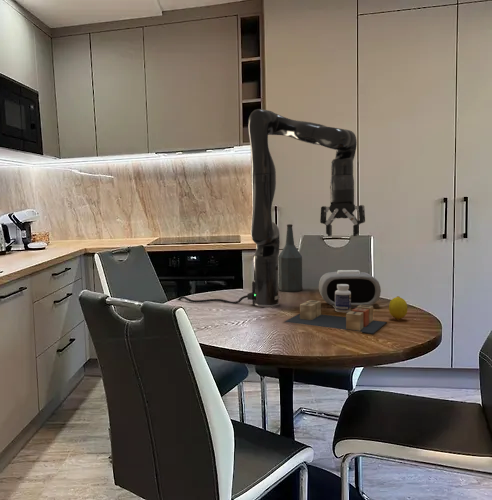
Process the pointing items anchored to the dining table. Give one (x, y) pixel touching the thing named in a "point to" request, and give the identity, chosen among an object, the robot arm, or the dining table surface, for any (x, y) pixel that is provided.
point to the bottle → (290, 265)
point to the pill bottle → (342, 298)
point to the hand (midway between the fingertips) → (342, 235)
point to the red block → (365, 315)
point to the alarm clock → (350, 287)
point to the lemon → (398, 307)
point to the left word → (310, 310)
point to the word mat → (336, 323)
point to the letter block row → (358, 318)
